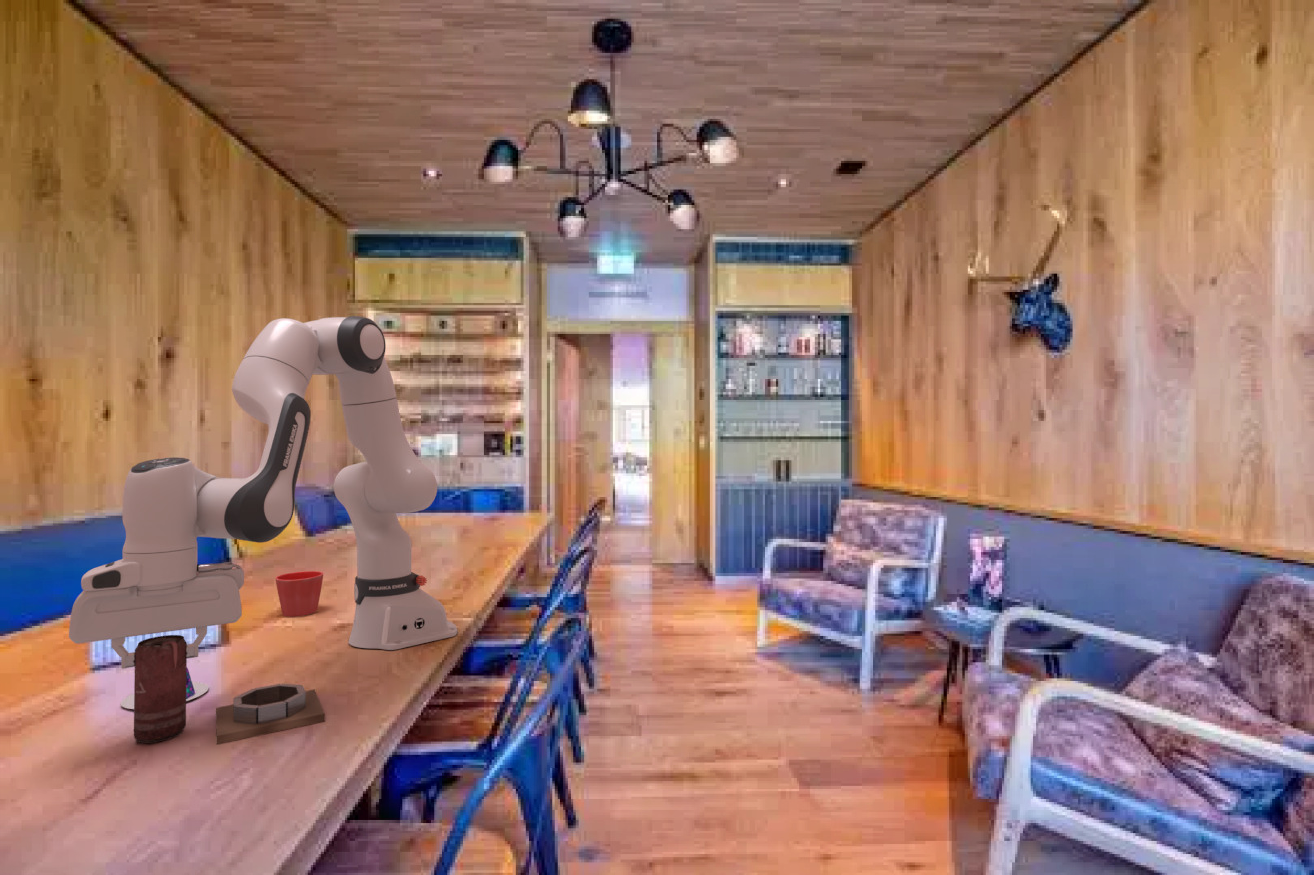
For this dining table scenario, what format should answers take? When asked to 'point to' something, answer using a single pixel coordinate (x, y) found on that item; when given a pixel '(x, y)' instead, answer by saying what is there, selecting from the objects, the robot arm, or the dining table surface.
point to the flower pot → (299, 592)
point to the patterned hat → (190, 688)
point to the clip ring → (253, 714)
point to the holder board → (236, 731)
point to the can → (160, 688)
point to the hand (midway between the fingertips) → (161, 661)
